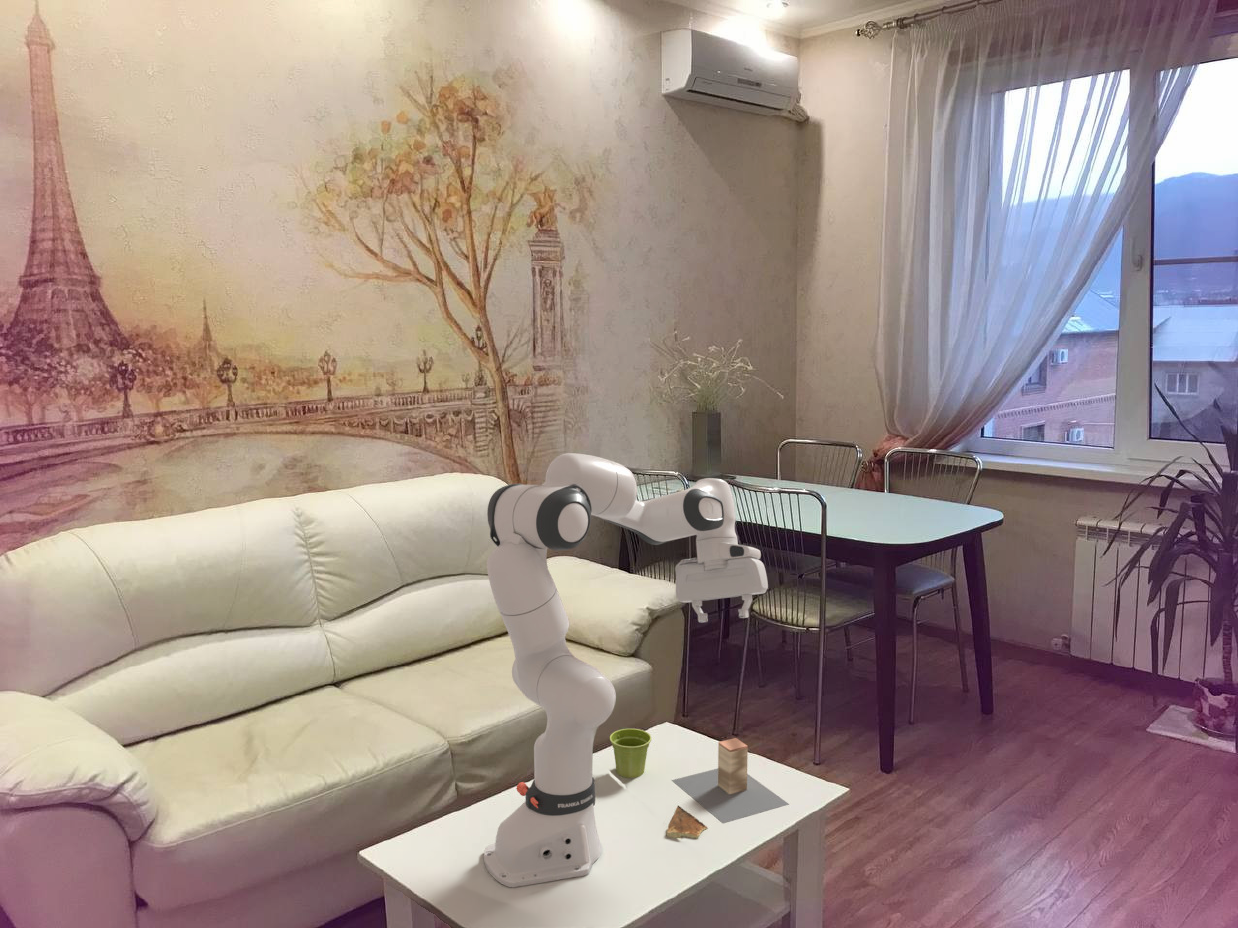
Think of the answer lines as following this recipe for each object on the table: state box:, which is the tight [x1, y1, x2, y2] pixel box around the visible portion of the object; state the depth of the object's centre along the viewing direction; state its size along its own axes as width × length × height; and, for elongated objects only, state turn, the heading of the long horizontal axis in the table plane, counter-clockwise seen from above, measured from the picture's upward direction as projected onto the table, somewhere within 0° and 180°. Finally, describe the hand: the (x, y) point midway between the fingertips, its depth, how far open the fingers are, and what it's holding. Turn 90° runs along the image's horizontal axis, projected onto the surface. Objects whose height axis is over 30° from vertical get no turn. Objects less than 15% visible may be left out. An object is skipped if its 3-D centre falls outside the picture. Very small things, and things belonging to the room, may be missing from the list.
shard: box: [666, 805, 708, 839], centre depth 190 cm, size 11×8×2 cm
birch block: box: [717, 737, 749, 794], centre depth 204 cm, size 4×4×10 cm
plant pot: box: [609, 728, 652, 779], centre depth 212 cm, size 9×9×9 cm
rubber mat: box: [671, 767, 790, 824], centre depth 203 cm, size 16×20×1 cm
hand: (723, 619), depth 197 cm, fingers open, 8 cm apart
